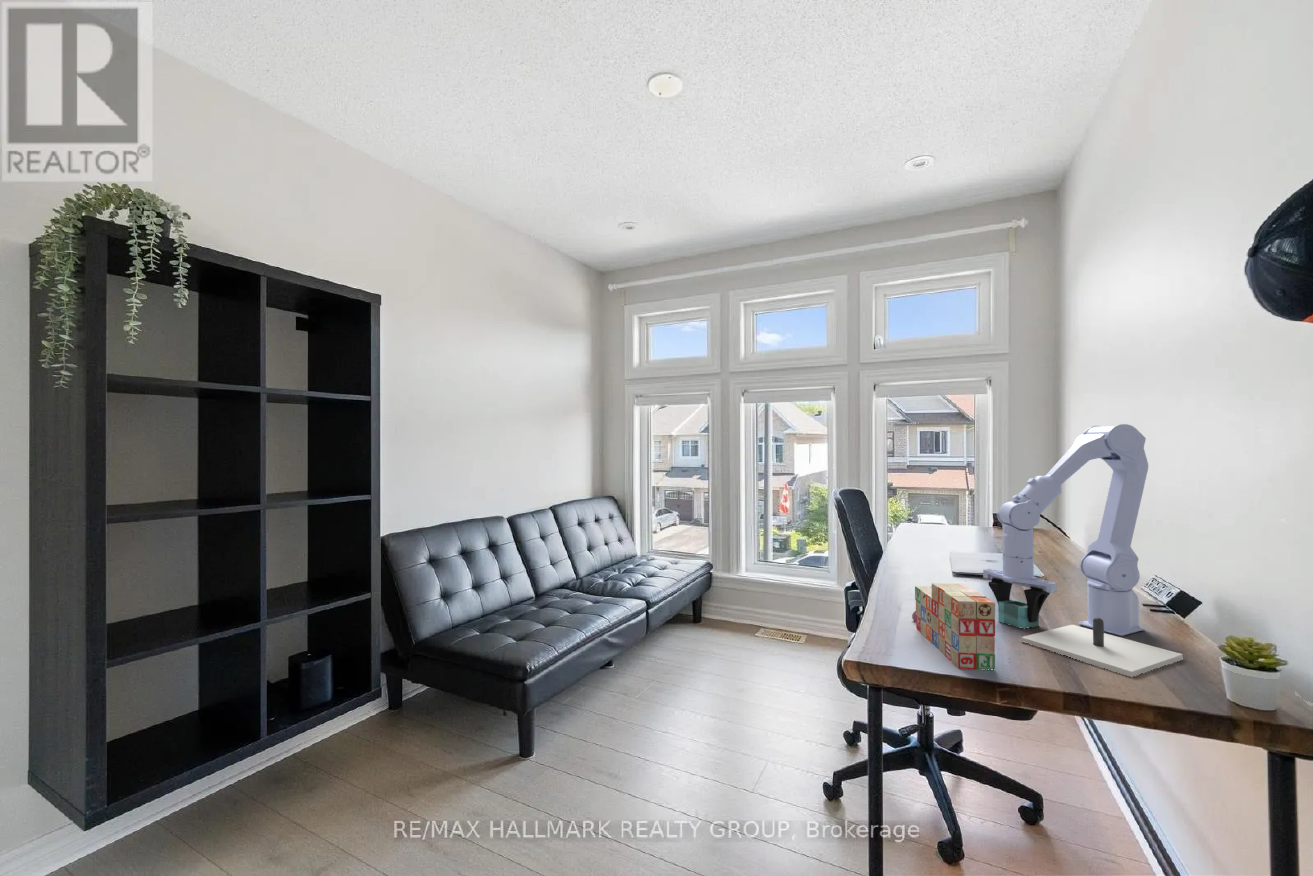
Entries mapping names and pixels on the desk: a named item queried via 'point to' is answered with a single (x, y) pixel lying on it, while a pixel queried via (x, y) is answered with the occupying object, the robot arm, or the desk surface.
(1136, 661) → the white square slab
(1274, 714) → the desk surface
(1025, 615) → the teal hollow square tube
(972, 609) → the stack of blocks
